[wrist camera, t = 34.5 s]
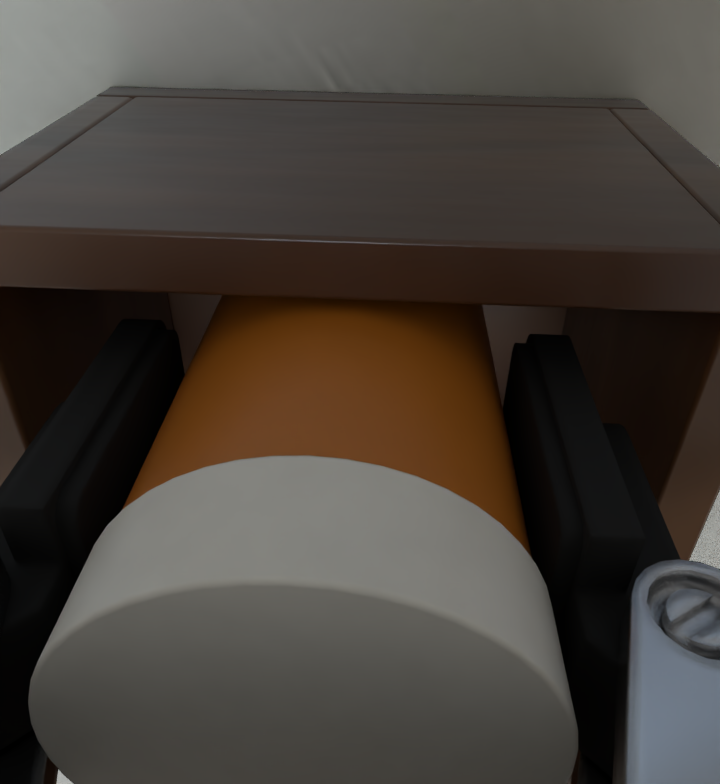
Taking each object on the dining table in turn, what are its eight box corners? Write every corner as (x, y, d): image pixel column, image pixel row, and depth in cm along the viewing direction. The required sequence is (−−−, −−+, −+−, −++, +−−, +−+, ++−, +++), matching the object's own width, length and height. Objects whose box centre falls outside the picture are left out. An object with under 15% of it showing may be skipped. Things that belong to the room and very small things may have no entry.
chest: (109, 86, 14) (-119, 222, 8) (640, 98, 13) (825, 253, 7) (192, 522, 21) (107, 763, 15) (536, 540, 21) (587, 795, 15)
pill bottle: (205, 190, 11) (-57, 564, 5) (505, 198, 11) (644, 599, 5) (234, 424, 14) (93, 854, 8) (473, 433, 14) (531, 882, 8)
